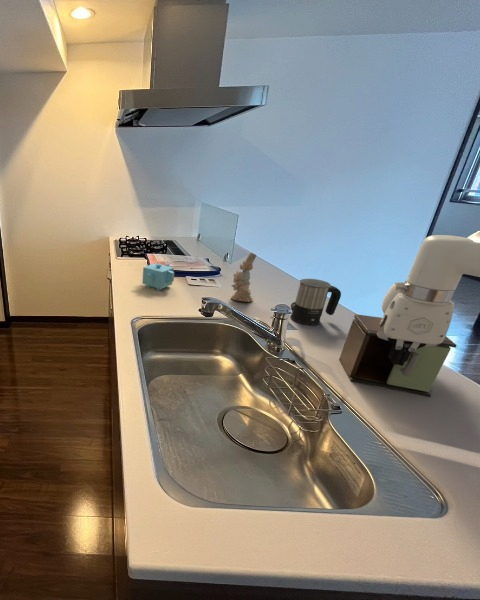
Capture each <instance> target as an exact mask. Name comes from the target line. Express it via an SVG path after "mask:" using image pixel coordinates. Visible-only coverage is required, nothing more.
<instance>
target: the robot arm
mask: <svg viewBox="0 0 480 600" xmlns="http://www.w3.org/2000/svg"><path fill="white" fill-rule="evenodd" d="M463 275H469V276H473V277H478V278H480V230H478V231H476V232H474V233H472V234H470V235H468V237H464V236H458V235H449V234H433V235H429V236H427V237H424V239H423V241H422V242H421V244H420V247H419V249H418V251H417V254H416V256H415V259H414V261H413V264H412V266H411V269H410V271H409V273H408V276H407V278H406V280H405V281H404V282H403V283H404V284H402V285H397V286H396V290H400V291H401V292H402V293H398V294H397V295H396V296H395V298H394V299H393V300H392V302H391V303H390V305H389V306H388V308H387V310H386V312H385V314H384V313H383V316H382V317H381V318H382V320H381V323H380V326H379V327H380V330H379V331H378V332H377V333H376V335H377V336H378V337H379V338H381V339H384V340H388V341H389V342H390V343H391V344H392V348H391V350H390V352H389V355H388V357H389V359H390V360H391V362H392V363H393V364H394V365H400V366H403V365H404V363H405V362H407V360H408V358H409V356H410V354H411V352H414V351H415V350H416V349H418V348H421V347H424V346H437V345H438V344H440V343H442V342H443V340H444V338H445V336H446V337H447V334H448V331H449V329H450V326H451V323H452V320H453V316H454V315H453V314H454V309H455V302H453V301H451V300H452V297H453V296H454V293H455V291H456V289H457V288H458V285H459V283H460V282H461V279H462V277H463ZM404 341H405V342H404ZM403 342H404V344H403Z"/></svg>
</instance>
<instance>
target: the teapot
mask: <svg viewBox="0 0 480 600" xmlns="http://www.w3.org/2000/svg"><path fill="white" fill-rule="evenodd" d="M170 264H171V262H167V263H166V264H165V265H164V264H162V263H152V264H148V265H145V266H143V268H142V281H141V282H142V284H143V285H146V288H155V290H156V291H162V290H163V289H164V288H168V287H169V286H172V285H173V282H174V280H175V274H176V273H175V272H174V269H175V268H174V267H171V266H170Z"/></svg>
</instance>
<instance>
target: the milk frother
mask: <svg viewBox="0 0 480 600" xmlns="http://www.w3.org/2000/svg"><path fill="white" fill-rule="evenodd" d="M328 293H330V297H329V299H328V302H327V304H326V301H327V297H328ZM341 297H342V292H341V290H340V289H339V288H337V287H336V286H334V285H331V283H329V282H328V281H325V280H322V279H316V278H302V279H299V286H298V290H297V293H296V298H295V301H294V302H292V303H291V304H290V308H291V309H292V313H291V315H290V316H289V317H290V319H291V320H292V321H294V322H297V323H299V324H302V325H306V326H307V325H309V326H316V325H319V324H320V323H321V317H322V315H323V311H324V308H325V304H326V308H325V313H326V314H327V315H329V316H333V315H334V314H335V311H336V309H337V307H338V305H339V302H340V299H341Z"/></svg>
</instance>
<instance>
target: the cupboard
mask: <svg viewBox="0 0 480 600" xmlns="http://www.w3.org/2000/svg"><path fill="white" fill-rule="evenodd" d="M382 318H383V317H382V316H381V317H380V316H373V315H365V314H357V313H355V314H354V316H353V319H352V321H351V324H350V327H349V330H348V332H347V336H346V339H345V342H344V344H343V347H342V350H341V353H340V355H339V358H338V361H339V362H340V364H341V366H342V368H343V370H344V372H345V374H346V376H347V378H348V379H349V381H350V382H351V383H357V384H361V385H367V386H371V387H377V388H382V389H386V390H391V391H392V390H393V391H398V392H402V393H408V394H413V395H418V396H422V397H427V398H430V397H431V396H432V394H431V393H430V391H429V392H426V391H420V390H415V389H410V388H405V387H399V386H394V385H389V384H387V383H386V382H387V380H388V378H389V375H390V373H391V371H392V369H393V366H394V364H393V363H392V362H391V360H390V359H389V357H388V355H389V352H390V350H391V348H392V344H391V343H390V342H389V341H388V340H384V339H381V338H379V337H378V336H377V335H376V333H377V332H378V331H379V330H380V327H379V326H380V323H381V320H382ZM403 344H404V342H403ZM438 346H445V347H449V348H456V347H457V344H456V343H455V342H454V341H453V340H452V339H450V338H449V337H448V336H447V335H446V336H445V338H444V340H443V342H442V343H440V344H438Z"/></svg>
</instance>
